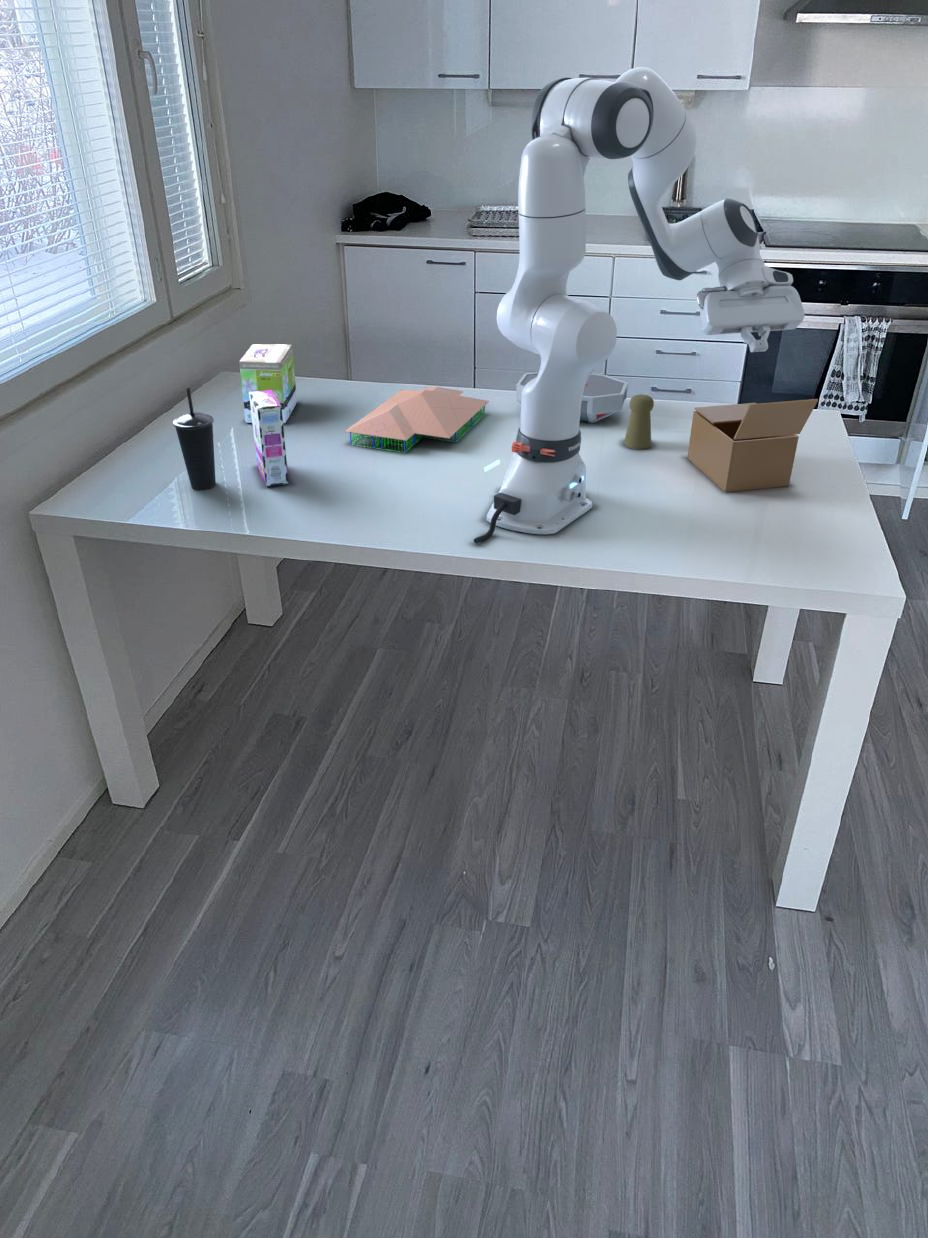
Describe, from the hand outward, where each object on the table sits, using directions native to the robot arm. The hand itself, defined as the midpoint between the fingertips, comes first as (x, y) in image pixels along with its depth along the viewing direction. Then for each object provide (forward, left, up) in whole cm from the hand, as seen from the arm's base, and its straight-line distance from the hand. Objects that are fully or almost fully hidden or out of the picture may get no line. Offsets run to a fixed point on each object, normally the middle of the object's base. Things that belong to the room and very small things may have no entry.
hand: (759, 350), depth 180 cm
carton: (+1, +1, -26) cm, 26 cm away
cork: (+7, +24, -26) cm, 36 cm away
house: (-4, +72, -26) cm, 76 cm away
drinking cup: (-52, +97, -26) cm, 113 cm away
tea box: (-11, +109, -26) cm, 112 cm away
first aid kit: (+19, +44, -26) cm, 54 cm away
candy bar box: (-42, +87, -26) cm, 100 cm away
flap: (-7, -6, -11) cm, 14 cm away
